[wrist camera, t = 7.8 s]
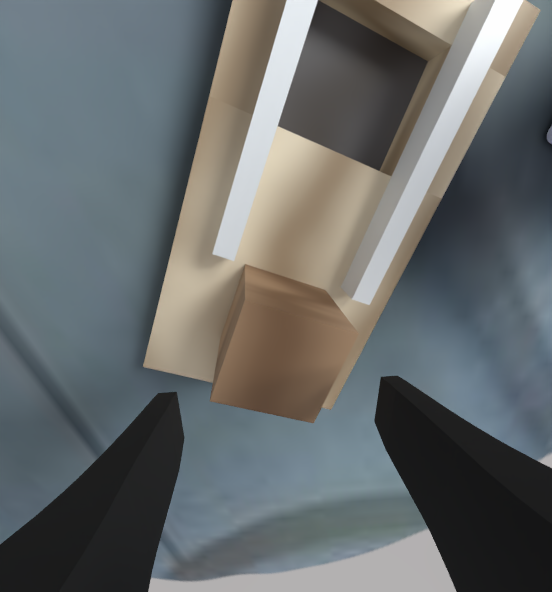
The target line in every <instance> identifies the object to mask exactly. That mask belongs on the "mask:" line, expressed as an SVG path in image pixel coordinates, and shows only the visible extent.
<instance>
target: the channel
mask: <svg viewBox="0 0 552 592" xmlns="http://www.w3.org/2000/svg"><path fill="white" fill-rule="evenodd" d="M317 2H318V0H287V1H286V4H285V7H284V11H283V14H282V18H281V21H280V25H279V28H278V31H277V35H276V38H275V42H274V45H273V48H272V52H271V55H270V59H269V62H268V65H267V69H266V72H265V76H264V79H263V83H262V86H261V89H260V93H259V96H258V100H257V103H256V106H255V110H254V113H253V117H252V120H251V123H250V127H249V130H248V134H247V137H246V141H245V144H244V147H243V151H242V154H241V158H240V161H239V164H238V168H237V171H236V175H235V178H234V181H233V185H232V188H231V192H230V195H229V199H228V202H227V205H226V209H225V212H224V216H223V219H222V222H221V226H220V229H219V233H218V236H217V239H216V243H215V246H214V250H213V253H212V254H213V255H217V256H220V257H223V258H226V259H229V260H232V261H234V260H235V257H236V254H237V251H238V248H239V245H240V241H241V238H242V235H243V232H244V229H245V226H246V223H247V220H248V216H249V213H250V210H251V207H252V204H253V201H254V198H255V195H256V192H257V188H258V185H259V182H260V179H261V176H262V173H263V170H264V167H265V164H266V160H267V157H268V154H269V151H270V148H271V145H272V142H273V139H274V136H275V132H276V129H277V126H278V123H279V120H280V117H281V114H282V111H283V107H284V104H285V101H286V98H287V95H288V92H289V89H290V86H291V83H292V79H293V76H294V73H295V70H296V67H297V64H298V61H299V58H300V55H301V51H302V48H303V45H304V42H305V39H306V36H307V33H308V30H309V26H310V23H311V20H312V17H313V14H314V11H315V8H316V5H317ZM522 2H523V0H474V1H473V2H472V3H471V4H470V7H469V9H468V11H467V13H466V15H465V17H464V20H463V22H462V24H461V26H460V28H459V31H458V33H457V35H456V37H455V39H454V41H453V44H452V46H451V48H450V50H449V52H448V55H447V57H446V59H445V61H444V63H443V65H442V68H441V70H440V72H439V74H438V76H437V78H436V81H435V83H434V85H433V87H432V89H431V92H430V94H429V96H428V98H427V100H426V102H425V105H424V107H423V109H422V111H421V113H420V116H419V118H418V120H417V122H416V124H415V126H414V129H413V131H412V133H411V135H410V137H409V139H408V142H407V144H406V146H405V148H404V150H403V153H402V155H401V157H400V159H399V161H398V163H397V166H396V168H395V170H394V172H393V174H392V177H391V179H390V181H389V183H388V185H387V187H386V190H385V192H384V194H383V196H382V198H381V200H380V203H379V205H378V207H377V209H376V211H375V214H374V216H373V218H372V220H371V222H370V224H369V227H368V229H367V231H366V233H365V235H364V238H363V240H362V242H361V244H360V246H359V248H358V251H357V253H356V255H355V257H354V259H353V261H352V264H351V266H350V268H349V270H348V272H347V275H346V277H345V279H344V281H343V283H342V285H341V288H342V289H343V290H344V291H345V293H346V294H347V295H348V296H349V297H350V298H351V299H352V300H355V301H358V302H361V303H364V304H368V305H370V303H371V301H372V299H373V297H374V295H375V293H376V291H377V289H378V287H379V285H380V283H381V281H382V279H383V277H384V275H385V273H386V271H387V269H388V268H389V266H390V264H391V262H392V260H393V258H394V256H395V254H396V252H397V250H398V248H399V246H400V244H401V242H402V240H403V238H404V236H405V234H406V232H407V230H408V228H409V226H410V224H411V222H412V220H413V218H414V216H415V214H416V212H417V210H418V208H419V206H420V204H421V202H422V200H423V198H424V196H425V194H426V192H427V190H428V188H429V186H430V184H431V182H432V180H433V178H434V176H435V174H436V172H437V170H438V168H439V166H440V164H441V162H442V161H443V159H444V157H445V155H446V153H447V151H448V149H449V147H450V145H451V143H452V141H453V139H454V137H455V135H456V133H457V131H458V129H459V127H460V125H461V123H462V121H463V119H464V117H465V115H466V113H467V111H468V109H469V107H470V105H471V103H472V101H473V99H474V97H475V95H476V93H477V91H478V89H479V87H480V85H481V83H482V81H483V79H484V77H485V75H486V73H487V71H488V69H489V67H490V65H491V63H492V61H493V59H494V57H495V55H496V53H497V52H498V50H499V48H500V46H501V44H502V42H503V40H504V38H505V36H506V34H507V32H508V30H509V28H510V26H511V24H512V22H513V20H514V18H515V16H516V14H517V12H518V10H519V8H520V6H521V4H522Z"/></svg>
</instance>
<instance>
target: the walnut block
mask: <svg viewBox="0 0 552 592" xmlns="http://www.w3.org/2000/svg"><path fill="white" fill-rule="evenodd" d="M358 335H359V333H358V332H357V331H356V329H355V328H354V327H353V325H352V324H351V323H350V321H349V320H348V319H347V317H346V316H345V315H344V314H343V312H342V311H341V310H340V308H339V307H338V306H337V304H336V303H335V302H334V300H333V299H332V298H331V297H330V295H329V294H328V293H327V291H326V290H324V289H321V288H318V287H315V286H312V285H309V284H306V283H303V282H299V281H296V280H293V279H290V278H287V277H284V276H281V275H278V274H275V273H272V272H269V271H265V270H262V269H259V268H256V267H253V266H250V265H247V264H245V266H244V269H243V272H242V275H241V278H240V281H239V284H238V287H237V290H236V293H235V296H234V299H233V302H232V305H231V308H230V311H229V314H228V317H227V320H226V323H225V326H224V329H223V332H222V335H221V338H220V343H219V349H218V355H217V361H216V367H215V373H214V379H213V385H212V391H211V397H210V401H211V402H216V403H221V404H226V405H230V406H235V407H240V408H244V409H249V410H254V411H258V412H263V413H268V414H273V415H277V416H282V417H287V418H291V419H296V420H301V421H306V422H310V423H314V421H315V419H316V417H317V415H318V413H319V412H320V410H321V408H322V406H323V404H324V402H325V400H326V398H327V396H328V394H329V392H330V390H331V388H332V386H333V384H334V382H335V380H336V378H337V376H338V374H339V372H340V370H341V368H342V366H343V364H344V362H345V360H346V358H347V356H348V354H349V352H350V350H351V349H352V347H353V345H354V343H355V341H356V339H357V337H358Z"/></svg>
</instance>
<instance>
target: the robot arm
mask: <svg viewBox="0 0 552 592" xmlns="http://www.w3.org/2000/svg"><path fill="white" fill-rule="evenodd" d="M547 140H548V142H549V143H550V144H552V125H551V127H550V129H549V131H548V133H547ZM375 424H376V426H377V429H378V431H379V434H380V437H381V439H382V441H383V444H384V446H385V449H386V451H387V452H388V454H389V456H390V458H391V460H392V462H393V464H394V466H395V467H396V469H397V471H398V473H399V475H400V477H401V478H402V480H403V482H404V484H405V486H406V488H407V489H408V491H409V493H410V495H411V497H412V498H413V500H414V502H415V504H416V506H417V508H418V509H419V511H420V513H421V515H422V517H423V519H424V521H425V523H426V525H427V526H428V528H429V530H430V532H431V534H432V537H433V539H434V541H435V543H436V546H437V548H438V550H439V552H440V554H441V557H442V559H443V561H444V563H445V565H446V568H447V570H448V572H449V574H450V577H451V579H452V582H453V584H454V586H455V589H456V591H457V592H552V468H550V467H548V466H546V465H544V464H542V463H540V462H538V461H536V460H534V459H532V458H530V457H529V456H527V455H525V454H523V453H521V452H519V451H517V450H515V449H514V448H512V447H510V446H508V445H506V444H504V443H503V442H501V441H499V440H497V439H496V438H494V437H492V436H490V435H489V434H487V433H485V432H484V431H482V430H480V429H479V428H477V427H475V426H474V425H472V424H471V423H469V422H467V421H466V420H464V419H463V418H461V417H459V416H458V415H456V414H455V413H453V412H452V411H450V410H449V409H447V408H446V407H444V406H442V405H441V404H439V403H438V402H436V401H435V400H433V399H432V398H431V397H429V396H428V395H426V394H425V393H423V392H422V391H420V390H419V389H417V388H416V387H414V386H413V385H411V384H410V383H408V382H407V381H405V380H403V379H402V378H400V377H398V376H386V377H381V380H380V387H379V394H378V400H377V407H376V414H375ZM183 443H184V433H183V427H182V421H181V415H180V409H179V403H178V397H177V392H169V393H158V394H157V395H156V396H155V397H154V398H153V399H152V401H151V402H150V403H149V404H148V405H147V406H146V407H145V408H144V410H143V411H142V412H141V413H140V414H139V415H138V416H137V417H136V419H135V420H134V421H133V422H132V423H131V424H130V425H129V426H128V428H127V429H126V430H125V431H124V432H123V433H122V434H121V435H120V436H119V437H118V438H117V439H116V440H115V442H114V443H113V444H112V445H111V446H110V447H109V448H108V449H107V450H106V451H105V452H104V453H103V454H102V455H101V456H100V457H99V458H98V459H97V460H96V461H95V462H94V463H93V464H92V465H91V466H90V467H89V468H88V469H87V470H86V471H85V472H84V473H83V474H82V475H81V476H80V477H79V478H78V479H77V480H76V481H75V482H74V483H73V484H71V485H70V486H69V487H68V488H67V489H66V490H65V491H64V492H63V493H62V494H60V495H59V496H58V497H57V498H56V499H55V500H54V501H53V502H51V503H50V504H49V505H48V506H47V507H46V508H45V509H43V510H42V511H41V512H40V513H39V514H38V515H36V516H35V517H34V518H33V519H32V520H30V521H29V522H28V523H27V524H25V525H24V526H23V527H22V528H20V529H19V530H18V531H17V532H15V533H14V534H13V535H12V536H10V537H9V538H8V539H7V540H5V541H4V542H3V543H2V544H0V592H148V589H149V584H150V579H151V574H152V569H153V565H154V561H155V557H156V552H157V548H158V545H159V541H160V538H161V534H162V530H163V527H164V523H165V520H166V516H167V512H168V509H169V505H170V502H171V498H172V494H173V491H174V487H175V483H176V480H177V476H178V472H179V468H180V462H181V456H182V450H183Z"/></svg>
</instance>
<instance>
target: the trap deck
mask: <svg viewBox="0 0 552 592" xmlns="http://www.w3.org/2000/svg"><path fill="white" fill-rule="evenodd" d="M286 1H287V0H233V1H232V5H231V9H230V13H229V17H228V21H227V25H226V30H225V34H224V38H223V42H222V46H221V50H220V54H219V58H218V62H217V66H216V70H215V74H214V79H213V83H212V87H211V91H210V95H209V99H208V103H207V107H206V111H205V115H204V119H203V123H202V128H201V132H200V136H199V140H198V144H197V148H196V152H195V156H194V160H193V164H192V168H191V172H190V177H189V181H188V185H187V189H186V193H185V197H184V201H183V205H182V209H181V213H180V217H179V221H178V226H177V230H176V234H175V238H174V242H173V246H172V250H171V254H170V258H169V262H168V266H167V270H166V275H165V279H164V283H163V287H162V291H161V295H160V299H159V303H158V307H157V311H156V315H155V319H154V324H153V328H152V332H151V336H150V340H149V344H148V348H147V352H146V356H145V360H144V364H143V367H146V368H150V369H155V370H159V371H164V372H168V373H172V374H177V375H181V376H186V377H190V378H194V379H199V380H203V381H207V382H212V383H213V379H214V373H215V367H216V361H217V355H218V349H219V343H220V338H221V335H222V332H223V329H224V326H225V323H226V320H227V317H228V314H229V311H230V308H231V305H232V302H233V299H234V296H235V293H236V290H237V287H238V284H239V281H240V278H241V275H242V272H243V269H244V266H245V264H247V265H250V266H253V267H256V268H259V269H262V270H265V271H269V272H272V273H275V274H278V275H281V276H284V277H287V278H290V279H293V280H296V281H299V282H303V283H306V284H309V285H312V286H315V287H318V288H321V289H324V290H326V291H327V293H328V294H329V295H330V297H331V298H332V299H333V300H334V302H335V303H336V304H337V306H338V307H339V308H340V310H341V311H342V312H343V314H344V315H345V316H346V317H347V319H348V320H349V321H350V323H351V324H352V325H353V327H354V328H355V329H356V331H357V332H358V333H359V335H358V337H357V339H356V341H355V343H354V345H353V347H352V349H351V350H350V352H349V354H348V356H347V358H346V360H345V362H344V364H343V366H342V368H341V370H340V372H339V374H338V376H337V378H336V380H335V382H334V384H333V386H332V388H331V390H330V392H329V394H328V396H327V398H326V400H325V402H324V404H323V406H322V408H326V409H330V410H331V409H332V407H333V405H334V403H335V401H336V399H337V397H338V395H339V393H340V392H341V390H342V388H343V386H344V384H345V382H346V380H347V378H348V376H349V374H350V373H351V371H352V369H353V367H354V365H355V363H356V361H357V359H358V357H359V355H360V353H361V352H362V350H363V348H364V346H365V344H366V342H367V340H368V338H369V336H370V334H371V332H372V331H373V329H374V327H375V325H376V323H377V321H378V319H379V317H380V315H381V313H382V312H383V310H384V308H385V306H386V304H387V302H388V300H389V298H390V296H391V294H392V292H393V291H394V289H395V287H396V285H397V283H398V281H399V279H400V277H401V275H402V273H403V271H404V270H405V268H406V266H407V264H408V262H409V260H410V258H411V256H412V254H413V252H414V251H415V249H416V247H417V245H418V243H419V241H420V239H421V237H422V235H423V233H424V231H425V230H426V228H427V226H428V224H429V222H430V220H431V218H432V216H433V214H434V212H435V210H436V209H437V207H438V205H439V203H440V201H441V199H442V197H443V195H444V193H445V191H446V190H447V188H448V186H449V184H450V182H451V180H452V178H453V176H454V174H455V172H456V170H457V169H458V167H459V165H460V163H461V161H462V159H463V157H464V155H465V153H466V151H467V149H468V148H469V146H470V144H471V142H472V140H473V138H474V136H475V134H476V132H477V130H478V129H479V127H480V125H481V123H482V121H483V119H484V117H485V115H486V113H487V111H488V109H489V108H490V106H491V104H492V102H493V100H494V98H495V96H496V94H497V92H498V90H499V89H500V87H501V85H502V83H503V81H504V79H505V77H506V75H507V73H508V71H509V69H510V68H511V66H512V64H513V62H514V60H515V58H516V56H517V54H518V52H519V50H520V48H521V47H522V45H523V43H524V41H525V39H526V37H527V35H528V33H529V31H530V29H531V28H532V26H533V24H534V22H535V20H536V18H537V16H538V14H539V12H540V10H539V9H538V8H537V7H535V6H534V5H532V4H531V3H529V2H528V1H526V0H523V2H522V4H521V6H520V8H519V10H518V12H517V14H516V16H515V18H514V20H513V22H512V24H511V26H510V28H509V30H508V32H507V34H506V36H505V38H504V40H503V42H502V44H501V46H500V48H499V50H498V52H497V53H496V55H495V57H494V59H493V61H492V63H491V65H490V67H489V69H488V71H487V73H486V75H485V77H484V79H483V81H482V83H481V85H480V87H479V89H478V91H477V93H476V95H475V97H474V99H473V101H472V103H471V105H470V107H469V109H468V111H467V113H466V115H465V117H464V119H463V121H462V123H461V125H460V127H459V129H458V131H457V133H456V135H455V137H454V139H453V141H452V143H451V145H450V147H449V149H448V151H447V153H446V155H445V157H444V159H443V161H442V162H441V164H440V166H439V168H438V170H437V172H436V174H435V176H434V178H433V180H432V182H431V184H430V186H429V188H428V190H427V192H426V194H425V196H424V198H423V200H422V202H421V204H420V206H419V208H418V210H417V212H416V214H415V216H414V218H413V220H412V222H411V224H410V226H409V228H408V230H407V232H406V234H405V236H404V238H403V240H402V242H401V244H400V246H399V248H398V250H397V252H396V254H395V256H394V258H393V260H392V262H391V264H390V266H389V268H388V269H387V271H386V273H385V275H384V277H383V279H382V281H381V283H380V285H379V287H378V289H377V291H376V293H375V295H374V297H373V299H372V301H371V303H370V305H368V304H364V303H361V302H358V301H355V300H352V299H351V298H350V297H349V296H348V295H347V294H346V293H345V291H344V290H343V289H342V288H341V285H342V283H343V281H344V279H345V277H346V275H347V272H348V270H349V268H350V266H351V264H352V261H353V259H354V257H355V255H356V253H357V251H358V248H359V246H360V244H361V242H362V240H363V238H364V235H365V233H366V231H367V229H368V227H369V224H370V222H371V220H372V218H373V216H374V214H375V211H376V209H377V207H378V205H379V203H380V200H381V198H382V196H383V194H384V192H385V190H386V187H387V185H388V183H389V181H390V179H391V177H392V174H393V172H394V170H395V168H396V166H397V163H398V161H399V159H400V157H401V155H402V153H403V150H404V148H405V146H406V144H407V142H408V139H409V137H410V135H411V133H412V131H413V129H414V126H415V124H416V122H417V120H418V118H419V116H420V113H421V111H422V109H423V107H424V105H425V102H426V100H427V98H428V96H429V94H430V92H431V89H432V87H433V85H434V83H435V81H436V78H437V76H438V74H439V72H440V70H441V68H442V65H443V63H444V61H445V59H446V57H447V55H448V52H449V50H450V48H451V46H452V44H453V41H454V39H455V37H456V35H457V33H458V31H459V28H460V26H461V24H462V22H463V20H464V17H465V15H466V13H467V11H468V9H469V7H470V4H471V3H472V2H473V1H474V0H318V2H317V5H316V8H315V11H314V14H313V17H312V20H311V23H310V26H309V30H308V33H307V36H306V39H305V42H304V45H303V48H302V51H301V55H300V58H299V61H298V64H297V67H296V70H295V73H294V76H293V79H292V83H291V86H290V89H289V92H288V95H287V98H286V101H285V104H284V107H283V111H282V114H281V117H280V120H279V123H278V126H277V129H276V132H275V136H274V139H273V142H272V145H271V148H270V151H269V154H268V157H267V160H266V164H265V167H264V170H263V173H262V176H261V179H260V182H259V185H258V188H257V192H256V195H255V198H254V201H253V204H252V207H251V210H250V213H249V216H248V220H247V223H246V226H245V229H244V232H243V235H242V238H241V241H240V245H239V248H238V251H237V254H236V257H235V260H234V261H232V260H229V259H226V258H223V257H220V256H217V255H213V254H212V253H213V250H214V246H215V243H216V239H217V236H218V233H219V229H220V226H221V222H222V219H223V216H224V212H225V209H226V205H227V202H228V199H229V195H230V192H231V188H232V185H233V181H234V178H235V175H236V171H237V168H238V164H239V161H240V158H241V154H242V151H243V147H244V144H245V141H246V137H247V134H248V130H249V127H250V123H251V120H252V117H253V113H254V110H255V106H256V103H257V100H258V96H259V93H260V89H261V86H262V83H263V79H264V76H265V72H266V69H267V65H268V62H269V59H270V55H271V52H272V48H273V45H274V42H275V38H276V35H277V31H278V28H279V25H280V21H281V18H282V14H283V11H284V7H285V4H286Z"/></svg>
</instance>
